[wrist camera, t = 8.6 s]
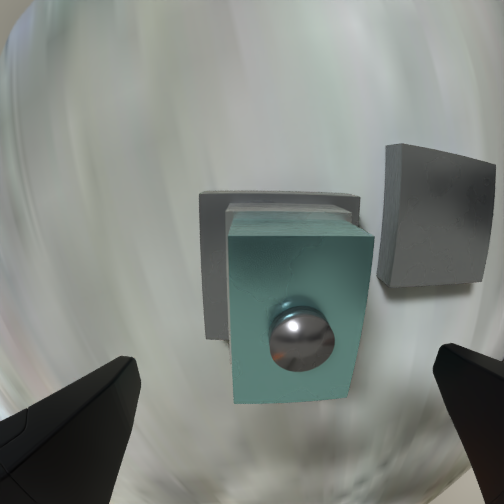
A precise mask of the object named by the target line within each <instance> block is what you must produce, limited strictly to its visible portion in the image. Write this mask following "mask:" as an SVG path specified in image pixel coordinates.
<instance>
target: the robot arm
mask: <svg viewBox="0 0 504 504" xmlns="http://www.w3.org/2000/svg"><path fill="white" fill-rule="evenodd" d="M433 374H434V377H435V379H436V382H437V384H438V387H439V390H440V392H441V395H442V398H443V400H444V403H445V406H446V408H447V411H448V413H449V415H450V417H451V420H452V422H453V424H454V426H455V428H456V430H457V433H458V435H459V437H460V439H461V442H462V444H463V446H464V449H465V451H466V453H467V456H468V458H469V461H470V463H471V466H472V468H473V471H474V473H475V476H476V479H477V481H478V484H479V487H480V490H481V493H482V495H483V498H484V501H485V504H504V362H502V361H499V360H496V359H494V358H491V357H488V356H486V355H483V354H480V353H478V352H475V351H472V350H470V349H467V348H464V347H462V346H459V345H456V344H454V343H449V344H444V345H442V346H441V347H440V348H439V351H438V354H437V357H436V360H435V362H434V365H433ZM140 389H141V379H140V375H139V371H138V367H137V363H136V360H135V359H134V358H133V357H128V356H119V357H118V358H116V359H114V360H112V361H111V362H109V363H107V364H105V365H104V366H102V367H100V368H98V369H96V370H95V371H93V372H91V373H89V374H88V375H86V376H84V377H82V378H80V379H79V380H77V381H75V382H73V383H72V384H70V385H68V386H66V387H64V388H62V389H61V390H59V391H57V392H55V393H53V394H52V395H50V396H48V397H46V398H44V399H42V400H41V401H39V402H37V403H35V404H33V405H31V406H29V407H28V409H27V408H26V409H24V410H22V411H20V412H18V413H16V414H14V415H12V416H10V417H8V418H6V419H4V420H2V421H0V504H109V502H110V499H111V495H112V492H113V489H114V485H115V482H116V479H117V475H118V472H119V469H120V466H121V463H122V459H123V456H124V453H125V450H126V447H127V444H128V441H129V438H130V435H131V431H132V427H133V422H134V417H135V412H136V408H137V403H138V398H139V394H140Z"/></svg>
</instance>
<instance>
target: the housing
mask: <svg viewBox="0 0 504 504" xmlns="http://www.w3.org/2000/svg"><path fill="white" fill-rule="evenodd" d="M225 227H226V270H227V302H228V328H229V351H230V364H232V376H233V395H234V404H264V403H290V402H305V401H318V400H328V399H337V398H346V397H347V395H348V391H349V387H350V383H351V379H352V375H353V370H354V366H355V361H356V357H357V352H358V347H359V342H360V337H361V332H362V326H363V321H364V315H365V309H366V303H367V296H368V289H369V282H370V275H371V267H372V258H373V249H374V238H375V236H373V235H371V234H369V233H368V232H366V231H364V230H362V229H360V228H359V227H357V226H355V225H353V224H352V212H349V211H347V210H345V209H342V208H340V207H337V206H335V205H333V204H304V203H230V204H229V206H228V208H227V209H226V211H225Z"/></svg>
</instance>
